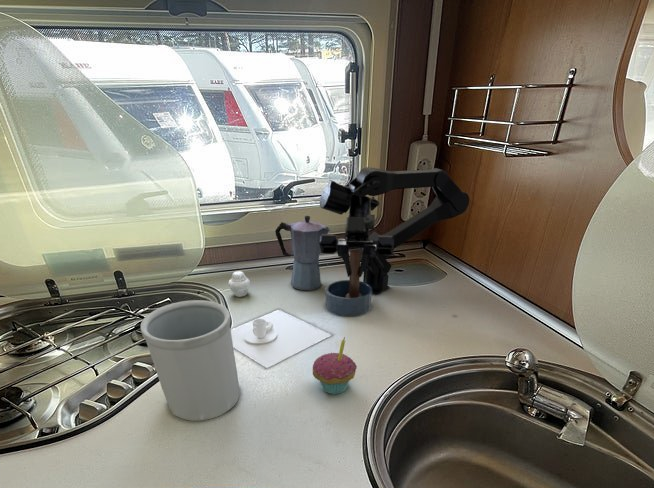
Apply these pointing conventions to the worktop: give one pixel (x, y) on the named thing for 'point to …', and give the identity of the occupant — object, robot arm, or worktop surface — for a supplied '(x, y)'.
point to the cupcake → (334, 370)
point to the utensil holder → (193, 357)
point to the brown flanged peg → (354, 274)
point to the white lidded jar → (239, 284)
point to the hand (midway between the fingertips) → (354, 276)
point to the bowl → (348, 299)
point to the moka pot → (304, 252)
